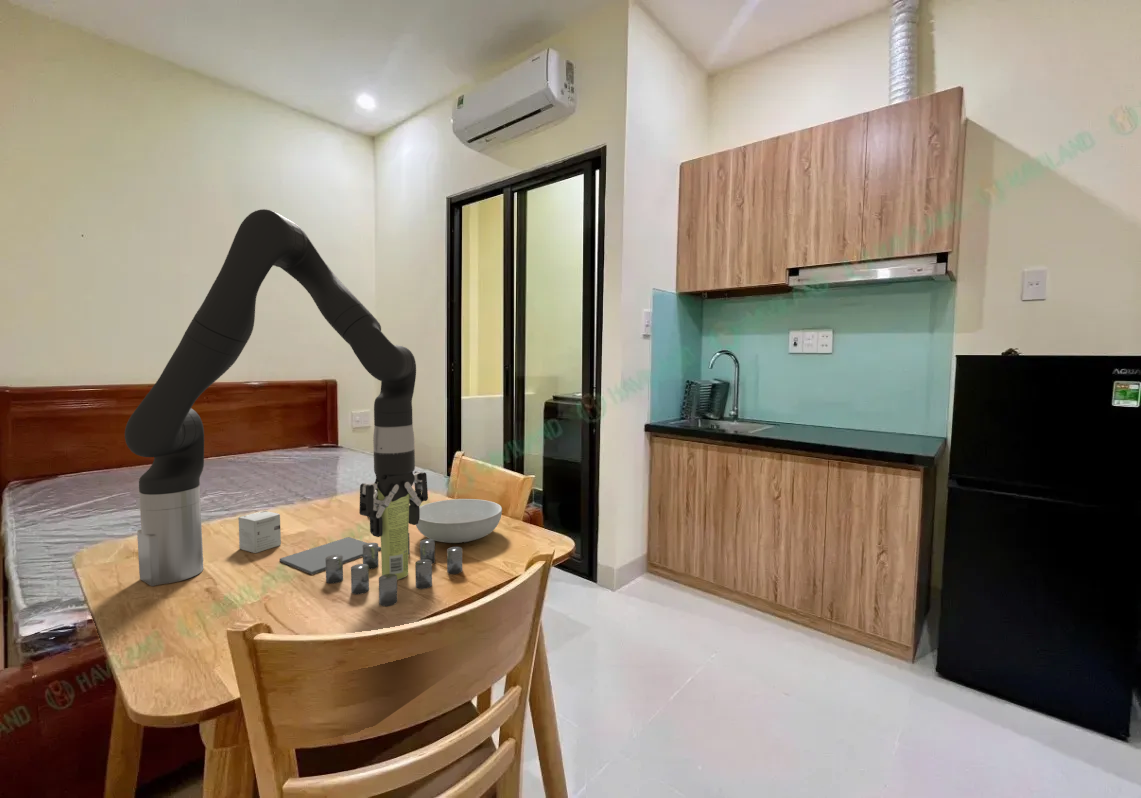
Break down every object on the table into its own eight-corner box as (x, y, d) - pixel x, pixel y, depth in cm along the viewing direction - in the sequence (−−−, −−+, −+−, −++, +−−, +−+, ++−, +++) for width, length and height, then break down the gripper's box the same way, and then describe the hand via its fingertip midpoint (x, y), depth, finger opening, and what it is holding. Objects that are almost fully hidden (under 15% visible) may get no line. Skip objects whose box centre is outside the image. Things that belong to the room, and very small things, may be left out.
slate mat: (312, 574, 100) (311, 571, 100) (279, 561, 107) (279, 558, 107) (381, 549, 114) (381, 547, 114) (348, 539, 120) (348, 536, 120)
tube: (386, 569, 103) (384, 475, 102) (411, 569, 104) (410, 474, 102) (378, 582, 97) (376, 481, 96) (405, 581, 98) (404, 481, 97)
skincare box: (255, 554, 111) (253, 521, 110) (238, 549, 114) (237, 516, 113) (281, 545, 116) (280, 513, 116) (265, 540, 119) (264, 509, 119)
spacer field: (386, 607, 87) (386, 582, 87) (322, 581, 98) (322, 558, 97) (465, 570, 103) (465, 548, 103) (403, 550, 114) (403, 531, 113)
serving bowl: (517, 530, 128) (518, 503, 128) (467, 559, 109) (467, 528, 109) (451, 518, 137) (451, 493, 136) (394, 544, 118) (393, 515, 117)
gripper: (374, 455, 91) (377, 544, 92) (435, 444, 103) (437, 523, 104) (349, 451, 95) (351, 536, 96) (410, 441, 107) (412, 517, 108)
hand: (396, 529), depth 100 cm, fingers open, 8 cm apart
